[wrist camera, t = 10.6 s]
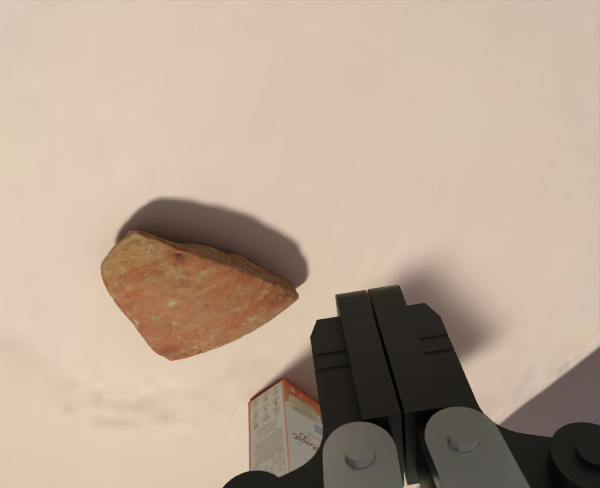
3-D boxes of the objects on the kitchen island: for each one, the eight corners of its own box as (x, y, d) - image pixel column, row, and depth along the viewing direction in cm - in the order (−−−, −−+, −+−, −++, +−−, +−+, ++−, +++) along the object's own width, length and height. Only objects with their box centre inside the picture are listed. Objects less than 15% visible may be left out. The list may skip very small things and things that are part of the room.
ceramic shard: (217, 208, 44) (306, 310, 53) (206, 167, 48) (289, 267, 58) (67, 305, 45) (179, 387, 55) (70, 256, 50) (173, 340, 60)
